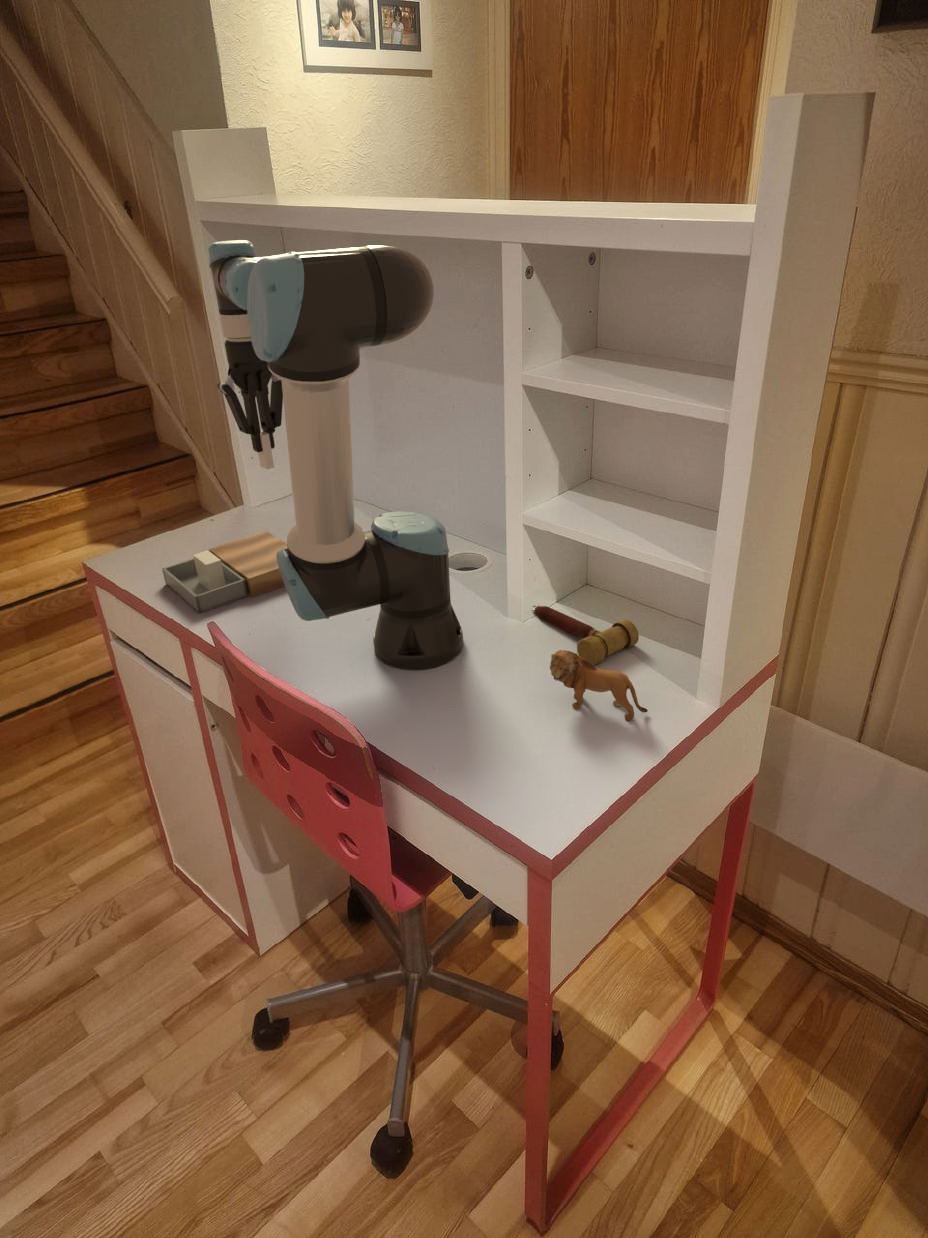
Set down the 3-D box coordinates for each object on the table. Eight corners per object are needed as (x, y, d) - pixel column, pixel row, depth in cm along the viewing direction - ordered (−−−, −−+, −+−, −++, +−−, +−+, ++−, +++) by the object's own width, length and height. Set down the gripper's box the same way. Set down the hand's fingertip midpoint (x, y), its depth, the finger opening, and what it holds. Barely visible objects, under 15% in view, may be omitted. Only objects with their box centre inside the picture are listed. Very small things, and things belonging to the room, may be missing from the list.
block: (220, 560, 161) (205, 564, 160) (226, 587, 164) (211, 592, 163) (207, 550, 165) (193, 554, 164) (213, 577, 168) (199, 582, 167)
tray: (248, 595, 162) (245, 579, 160) (199, 613, 157) (195, 596, 155) (212, 568, 173) (209, 553, 171) (165, 584, 168) (162, 568, 166)
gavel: (510, 605, 149) (552, 587, 154) (512, 628, 151) (553, 609, 156) (596, 645, 134) (639, 624, 139) (596, 670, 136) (639, 648, 141)
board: (311, 575, 168) (309, 557, 166) (252, 597, 161) (248, 578, 159) (269, 547, 181) (266, 530, 179) (212, 566, 174) (208, 549, 172)
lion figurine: (545, 710, 127) (546, 659, 122) (552, 690, 131) (553, 640, 126) (645, 724, 123) (649, 672, 118) (649, 703, 127) (653, 652, 122)
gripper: (268, 328, 154) (287, 454, 166) (201, 340, 147) (226, 470, 158) (289, 333, 149) (307, 462, 160) (220, 345, 142) (245, 480, 153)
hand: (267, 466), depth 159 cm, fingers closed
